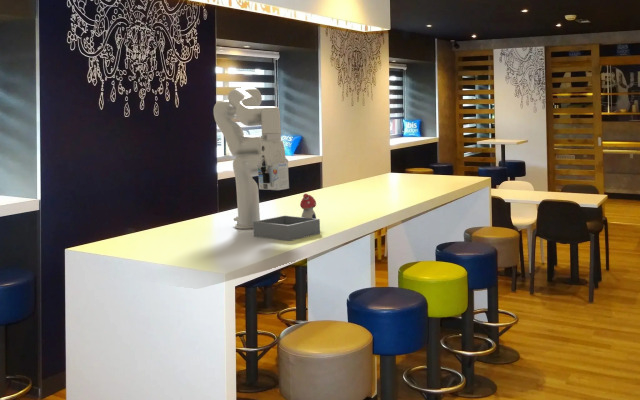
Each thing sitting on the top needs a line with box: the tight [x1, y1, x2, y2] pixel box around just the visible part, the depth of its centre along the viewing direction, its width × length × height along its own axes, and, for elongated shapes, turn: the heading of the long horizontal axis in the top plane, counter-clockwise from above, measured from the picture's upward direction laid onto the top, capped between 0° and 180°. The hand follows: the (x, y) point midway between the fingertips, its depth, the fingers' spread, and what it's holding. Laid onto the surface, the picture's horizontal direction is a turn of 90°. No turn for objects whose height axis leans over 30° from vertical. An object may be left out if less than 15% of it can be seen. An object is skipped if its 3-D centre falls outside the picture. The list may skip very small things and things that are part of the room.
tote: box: [253, 214, 321, 242], centre depth 284 cm, size 20×18×6 cm
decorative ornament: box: [299, 193, 317, 219], centre depth 299 cm, size 9×7×15 cm
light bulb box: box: [258, 161, 290, 191], centre depth 281 cm, size 11×7×11 cm, turn 56°
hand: (273, 181), depth 281 cm, fingers closed on light bulb box, 7 cm apart
